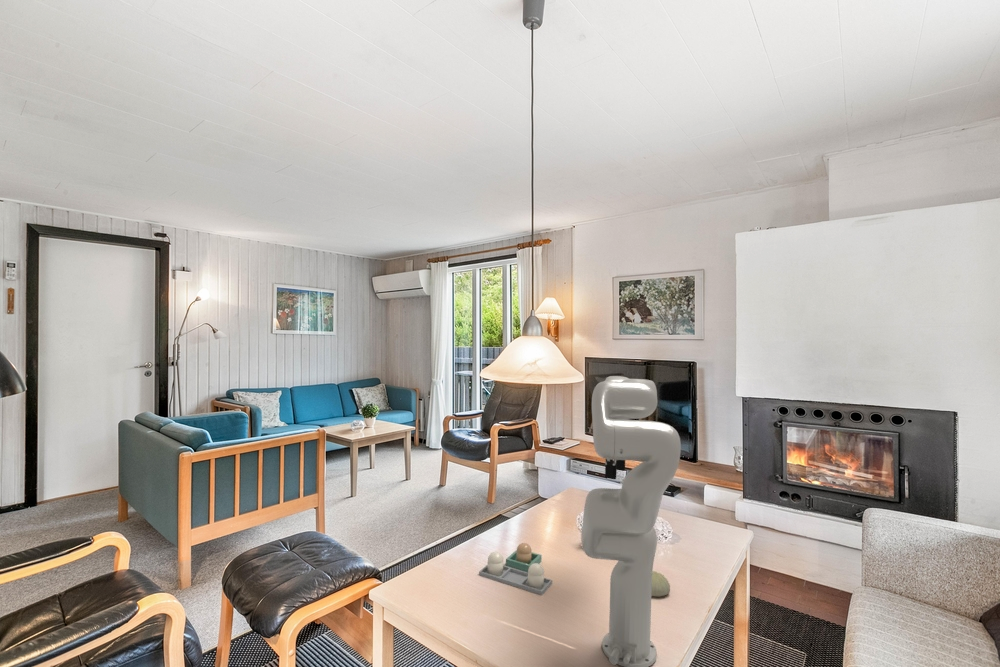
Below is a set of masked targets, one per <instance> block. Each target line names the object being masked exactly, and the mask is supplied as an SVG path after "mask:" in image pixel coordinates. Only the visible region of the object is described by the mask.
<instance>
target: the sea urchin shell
mask: <svg viewBox="0 0 1000 667" xmlns="http://www.w3.org/2000/svg"><path fill="white" fill-rule="evenodd" d="M670 591H671V586H670V583H669V580H668V578H666V577H665V576H664V574H662V573H660V572H657V571H654V570H652V591H651V597H658V598H659V597H665V596H667V595H668V594H669V593H670Z"/></svg>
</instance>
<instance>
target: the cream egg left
mask: <svg viewBox="0 0 1000 667" xmlns="http://www.w3.org/2000/svg"><path fill="white" fill-rule="evenodd" d="M487 565H488V574H491V575H494V576H497V577H499V576H501V575H502V574H503V565H504V557H503V554H502V553H501V552H499V551H492V552H491V553H490V554H489V556H488V557H487Z"/></svg>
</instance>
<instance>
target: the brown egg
mask: <svg viewBox="0 0 1000 667" xmlns="http://www.w3.org/2000/svg"><path fill="white" fill-rule="evenodd" d="M516 550H517V561H519V562H522V563H526V564H530V563H531V554H532V553H533V552H532V550H533V549H532V548H531V546H530V544H529V543H527V542H522V543H519V544H518V546H517V548H516Z"/></svg>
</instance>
